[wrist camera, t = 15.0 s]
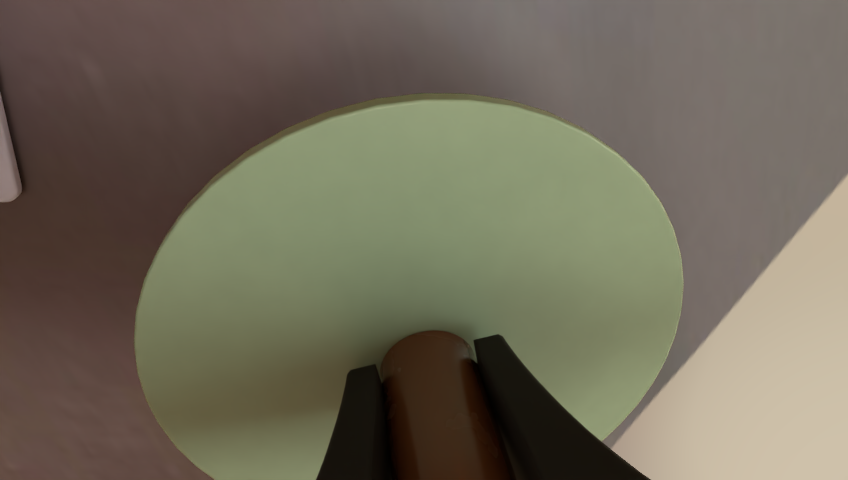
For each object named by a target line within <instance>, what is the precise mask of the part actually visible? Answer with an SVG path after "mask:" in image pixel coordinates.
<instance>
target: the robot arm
mask: <svg viewBox="0 0 848 480" xmlns="http://www.w3.org/2000/svg"><path fill="white" fill-rule="evenodd" d="M21 192H22V185H21V180H20V176H19V172H18V167H17V163H16V158H15V154H14V150H13V145H12V141H11V137H10V132H9V128H8V124H7V119H6V115H5V110H4V106H3V102H2V97H1V93H0V202H11V201H13V200H15V199H16V198H17V197H18V196H19V195H20V194H21ZM473 341H474V347H475V352H476V358H477V364H478V367H479V370H480V373H481V376H482V379H483V382H484V385H485V388H486V391H487V394H488V397H489V400H490V402H491V405H492V408H493V411H494V414H495V417H496V420H497V423H498V426H499V429H500V432H501V435H502V438H503V441H504V444H505V447H506V450H507V452H508V455H509V458H510V461H511V464H512V467H513V470H514V473H515V476H516V479H517V480H650V479H649V478H647V477H646V476H645V475H643V474H642V473H640V472H639V471H638V470H636V469H635V468H634V467H633V466H631V465H630V464H629V463H627V462H626V461H625V460H623V459H622V458H621V457H620V456H618V455H617V454H616V453H615V452H613V451H612V450H611V449H610V448H609V447H607V446H606V445H605V444H604V443H602V442H601V441H600V440H599V439H598V438H597V437H595V436H594V435H593V434H592V433H591V432H590V431H589V430H587V429H586V428H585V427H584V426H583V425H582V424H581V423H580V422H579V421H578V420H577V419H575V418H574V417H573V416H572V415H571V414H570V413H569V412H568V411H567V410H566V409H565V408H564V407H563V406H562V405H561V404H560V403H559V402H558V401H557V400H556V399H555V398H554V397H553V396H552V395H551V394H550V393H549V392H548V391H547V390H546V389H545V388H544V386H543V385H542V384H541V383H540V382H539V381H538V380H537V379H536V378H535V377H534V376H533V374H532V373H531V372H530V371H529V370H528V369H527V367H526V366H525V365H524V364H523V363H522V362H521V360H520V359H519V358H518V357H517V355H516V354H515V353H514V351H513V350H512V349H511V347H510V346H509V345H508V343H507V342H506V340H505V339H504V337H503V336H501V335H499V334H496V335H492V336H488V337H484V338H480V339H476V340H473ZM316 480H392V476H391V467H390V458H389V449H388V440H387V428H386V416H385V407H384V398H383V390H382V383H381V379H380V376H379V373H378V370H377V367H376V364H373V365H369V366H364V367H360V368H356V369H352V370H350V371H349V373H348V374H347V377H346V383H345V388H344V393H343V397H342V401H341V405H340V409H339V413H338V416H337V420H336V423H335V427H334V430H333V433H332V436H331V439H330V442H329V445H328V449H327V452H326V454H325V457H324V460H323V463H322V465H321V468H320V471H319V473H318V476H317V478H316Z"/></svg>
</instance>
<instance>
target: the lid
mask: <svg viewBox="0 0 848 480" xmlns="http://www.w3.org/2000/svg"><path fill="white" fill-rule="evenodd" d="M683 284H684V283H683V272H682V260H681V254H680V250H679V247H678V243H677V239H676V235H675V232H674V228H673V226H672V224H671V222H670V220H669V218H668V216H667V213H666V211H665V209H664V207H663V205H662V203H661V201H660V200H659V199H658V197H657V196H656V194H655V193H654V192H653V190H652V189H651V187H650V186H649V185H648V183H647V182H646V181H645V179H644V178H643V177H642V176H641V175H640V174H639V173H638V172H637V171H636V170H635V169H634V168H633V167H632V166H631V165H630V164H629V163H628V162H627V161H626V160H625V159H624V158H623V157H622V156H621V155H620V154H618V153H617V152H616V151H615V150H613V149H612V148H611V147H610V146H608V145H607V144H605V143H604V142H602V141H601V140H599V139H598V138H596V137H595V136H593V135H592V134H590V133H589V132H587V131H586V130H585V129H583V128H582V127H579V126H577V125H575V124H573V123H571V122H569V121H567V120H565V119H562V118H560V117H558V116H556V115H554V114H552V113H550V112H547V111H544V110H541V109H537V108H534V107H531V106H527V105H524V104H521V103H517V102H514V101H510V100H506V99H499V98H492V97H485V96H479V95H472V94H454V93H418V94H410V95H402V96H394V97H386V98H378V99H372V100H368V101H365V102H361V103H357V104H353V105H349V106H345V107H341V108H338V109H334V110H330V111H327V112H325V113H322V114H320V115H317V116H315V117H313V118H310V119H308V120H305V121H303V122H300V123H298V124H295V125H293V126H290V127H288V128H286V129H284V130H282V131H281V132H279V133H277V134H275V135H274V136H272V137H270V138H268V139H267V140H265V141H263V142H261V143H260V144H258V145H256V146H254V147H253V148H251V149H249V150H247V151H246V152H245V153H244V154H242V155H241V156H240V157H238V158H237V159H236V160H235V161H233V162H232V163H231V164H229V165H228V166H227V167H226V168H224V169H223V170H222V171H220V172H219V173H218V174H217V175H215V176H214V177H213V178H212V179H211V180H210V181H209V182H208V183H207V184H206V185H205V186H204V187H203V189H202V190H201V191H200V192H199V193H198V194H197V195H196V196H195V197H194V198H193V199H192V200H191V201H190V202H189V203H188V204H187V205H186V207H185V208H184V209H183V211H182V212H181V214H180V215H179V217H178V218H177V220H176V221H175V222H174V224H173V225H172V227H171V228H170V230H169V231H168V233H167V234H166V235H165V237H164V239H163V241H162V243H161V245H160V246H159V249H158V251H157V253H156V255H155V257H154V259H153V261H152V264H151V266H150V268H149V270H148V272H147V274H146V277H145V279H144V282H143V286H142V290H141V294H140V297H139V301H138V305H137V309H136V317H135V332H134V348H135V357H136V365H137V373H138V376H139V379H140V382H141V385H142V388H143V392H144V395H145V398H146V401H147V403H148V404H149V406H150V408H151V410H152V412H153V414H154V416H155V418H156V420H157V422H158V423H159V425H160V426H161V428H162V429H163V430H164V432H165V433H166V434H167V436H168V437H169V438H170V440H171V441H172V442H173V444H174V445H175V446H176V447H177V448H178V449H179V450H180V451H181V452H182V453H183V454H184V455H185V456H186V457H187V458H188V459H189V460H190V461H191V462H192V463H193V464H194V465H195V466H197V467H198V468H199V469H201V470H202V471H204V472H205V473H206V474H208V475H209V476H210V477H212V478H213V479H214V480H316V478H317V476H318V473H319V471H320V468H321V465H322V463H323V460H324V457H325V454H326V452H327V449H328V445H329V442H330V439H331V436H332V433H333V430H334V427H335V423H336V420H337V416H338V413H339V409H340V405H341V401H342V397H343V393H344V388H345V383H346V377H347V374H348V373H349V371H350V370H352V369H356V368H360V367H364V366H369V365H373V364H376V367H377V370H378V373H379V376H380V379H381V383H382V390H383V398H384V407H385V416H386V428H387V440H388V449H389V458H390V467H391V476H392V480H517V479H516V476H515V473H514V470H513V467H512V464H511V461H510V458H509V455H508V452H507V450H506V447H505V444H504V441H503V438H502V435H501V432H500V429H499V426H498V423H497V420H496V417H495V414H494V411H493V408H492V405H491V402H490V400H489V397H488V394H487V391H486V388H485V385H484V382H483V379H482V376H481V373H480V370H479V367H478V364H477V358H476V352H475V347H474V341H473V340H476V339H480V338H484V337H488V336H492V335H496V334H499V335H501V336H503V337H504V339H505V340H506V342H507V343H508V345H509V346H510V347H511V349H512V350H513V351H514V353H515V354H516V355H517V357H518V358H519V359H520V360H521V362H522V363H523V364H524V365H525V366H526V367H527V369H528V370H529V371H530V372H531V373H532V374H533V376H534V377H535V378H536V379H537V380H538V381H539V382H540V383H541V384H542V385H543V386H544V388H545V389H546V390H547V391H548V392H549V393H550V394H551V395H552V396H553V397H554V398H555V399H556V400H557V401H558V402H559V403H560V404H561V405H562V406H563V407H564V408H565V409H566V410H567V411H568V412H569V413H570V414H571V415H572V416H573V417H574V418H575V419H577V420H578V421H579V422H580V423H581V424H582V425H583V426H584V427H585V428H586V429H587V430H589V431H590V432H591V433H592V434H593V435H594V436H595V437H597V438H598V439H599V440H600V441H601V442H602V441H603V440H604V439H605V438H606V437H607V436H608V435H609V434H610V433H611V432H612V431H613V430H614V429H615V428H617V427H618V426H619V425H620V424H621V423H622V422H623V420H624V419H625V418H626V417H627V416H628V415H629V414H630V412H631V411H632V410H633V409H634V408H635V407H636V406H637V405H638V403H639V402H640V401H641V399H642V398H643V396H644V395H645V393H646V392H647V391H648V389H649V388H650V386H651V385H652V384H653V382H654V380H655V378H656V377H657V375H658V373H659V371H660V369H661V367H662V366H663V364H664V362H665V360H666V358H667V355H668V353H669V350H670V348H671V345H672V343H673V340H674V337H675V335H676V331H677V326H678V322H679V318H680V314H681V309H682V296H683Z"/></svg>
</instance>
